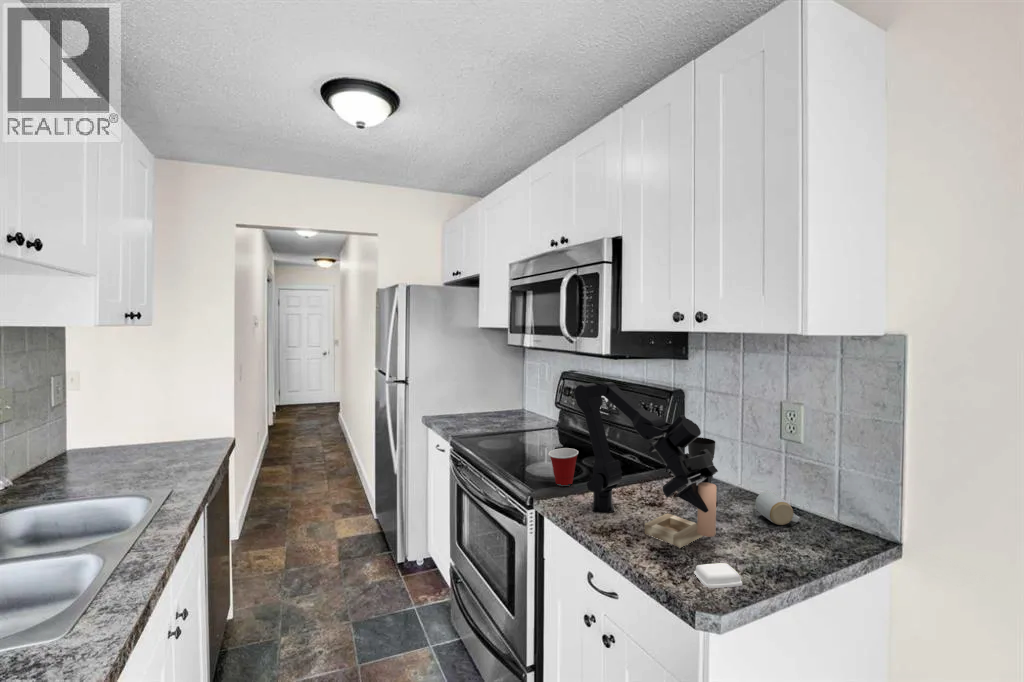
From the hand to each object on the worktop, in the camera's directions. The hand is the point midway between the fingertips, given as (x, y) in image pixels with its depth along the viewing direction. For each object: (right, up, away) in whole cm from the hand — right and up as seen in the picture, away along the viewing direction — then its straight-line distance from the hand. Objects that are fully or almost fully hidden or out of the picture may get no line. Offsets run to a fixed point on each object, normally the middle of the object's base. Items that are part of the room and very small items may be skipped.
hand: (711, 509), depth 124 cm
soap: (-4, -12, -13) cm, 18 cm away
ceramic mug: (+27, -10, +18) cm, 34 cm away
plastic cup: (-33, -9, +50) cm, 60 cm away
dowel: (-1, -7, +1) cm, 7 cm away
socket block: (-7, -10, +9) cm, 15 cm away
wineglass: (+10, -9, +33) cm, 36 cm away
